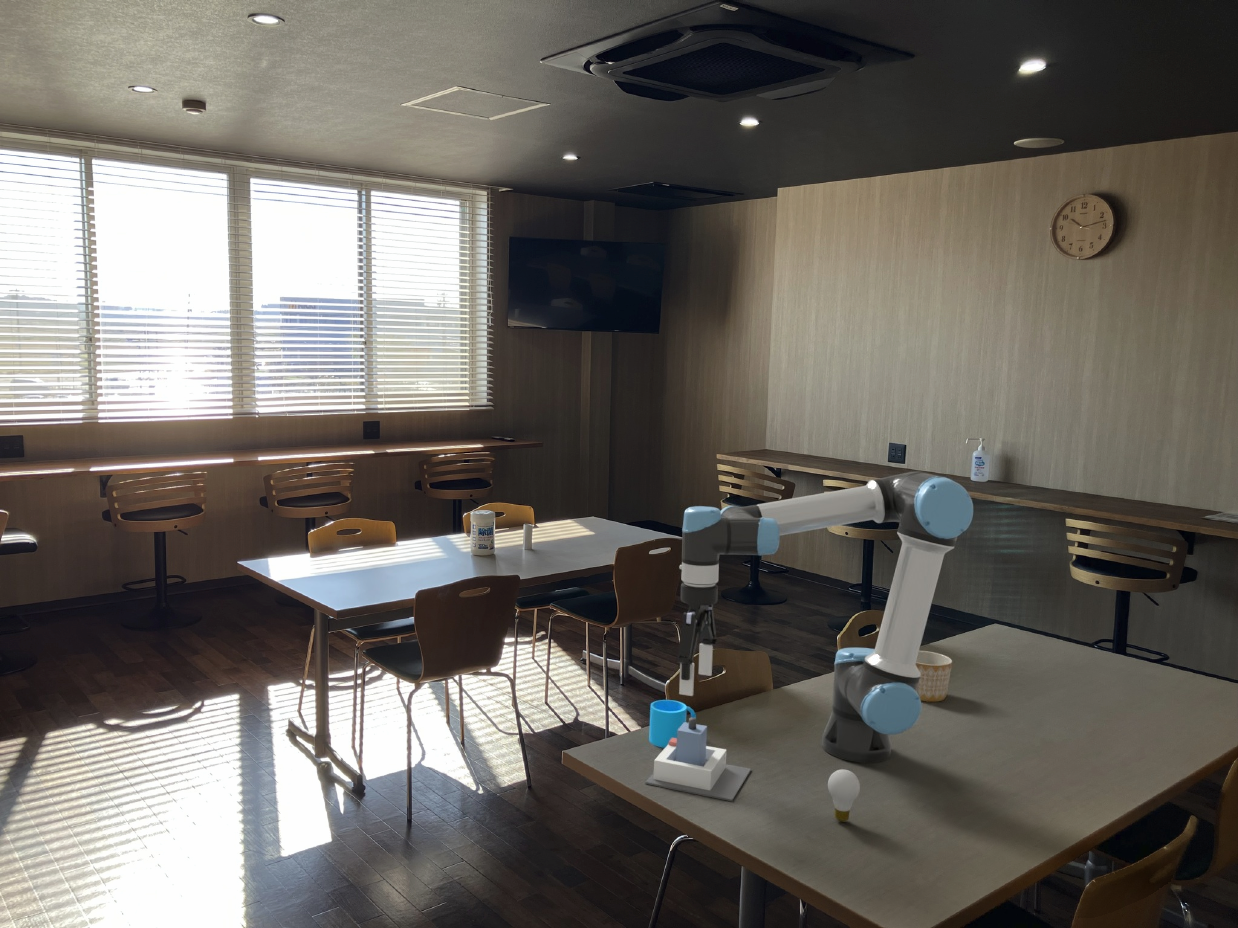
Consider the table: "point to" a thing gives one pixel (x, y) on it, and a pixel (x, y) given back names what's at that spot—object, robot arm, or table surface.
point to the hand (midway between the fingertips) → (695, 684)
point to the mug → (666, 720)
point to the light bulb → (843, 792)
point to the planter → (933, 676)
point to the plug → (691, 743)
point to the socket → (698, 774)
